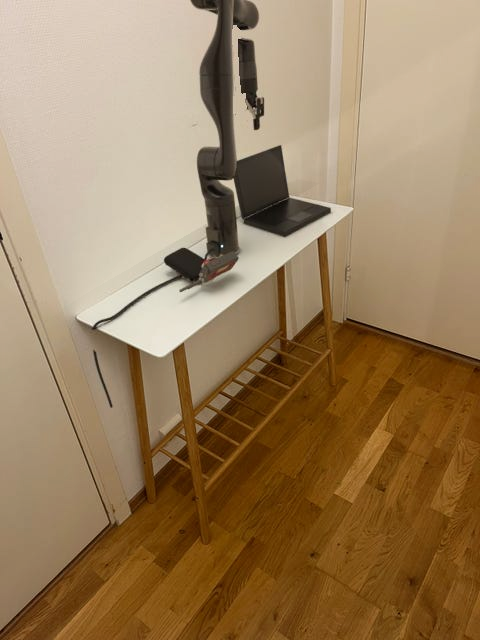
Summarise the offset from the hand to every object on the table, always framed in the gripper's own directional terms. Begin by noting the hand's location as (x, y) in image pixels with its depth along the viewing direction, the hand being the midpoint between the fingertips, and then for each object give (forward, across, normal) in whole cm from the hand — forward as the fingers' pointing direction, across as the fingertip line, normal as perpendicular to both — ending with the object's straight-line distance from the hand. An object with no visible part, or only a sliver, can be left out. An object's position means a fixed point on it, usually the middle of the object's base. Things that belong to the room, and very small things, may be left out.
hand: (249, 128), depth 160 cm
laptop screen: (+18, +5, 0) cm, 19 cm away
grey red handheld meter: (+26, +34, -51) cm, 66 cm away
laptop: (+30, +17, 0) cm, 34 cm away
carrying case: (+28, +20, -50) cm, 61 cm away
